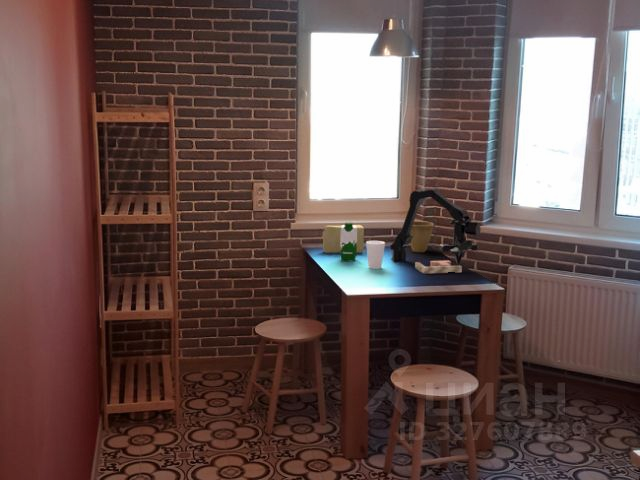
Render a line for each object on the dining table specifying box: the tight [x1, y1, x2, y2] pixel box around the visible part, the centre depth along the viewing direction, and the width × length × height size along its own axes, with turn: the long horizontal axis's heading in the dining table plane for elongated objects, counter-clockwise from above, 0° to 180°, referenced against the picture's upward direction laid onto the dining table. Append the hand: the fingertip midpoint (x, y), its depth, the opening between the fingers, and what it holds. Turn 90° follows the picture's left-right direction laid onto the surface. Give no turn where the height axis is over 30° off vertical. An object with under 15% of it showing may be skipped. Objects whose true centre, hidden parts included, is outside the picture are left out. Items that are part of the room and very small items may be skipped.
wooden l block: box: [414, 261, 463, 275], centre depth 390 cm, size 20×13×3 cm, turn 101°
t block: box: [429, 260, 452, 267], centre depth 391 cm, size 10×10×4 cm
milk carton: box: [340, 222, 357, 262], centre depth 411 cm, size 9×9×20 cm
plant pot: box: [409, 220, 434, 253], centre depth 437 cm, size 15×15×16 cm
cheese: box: [322, 224, 365, 254], centre depth 432 cm, size 22×10×15 cm, turn 99°
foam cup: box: [365, 240, 386, 270], centre depth 393 cm, size 10×9×13 cm
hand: (457, 263), depth 392 cm, fingers closed
